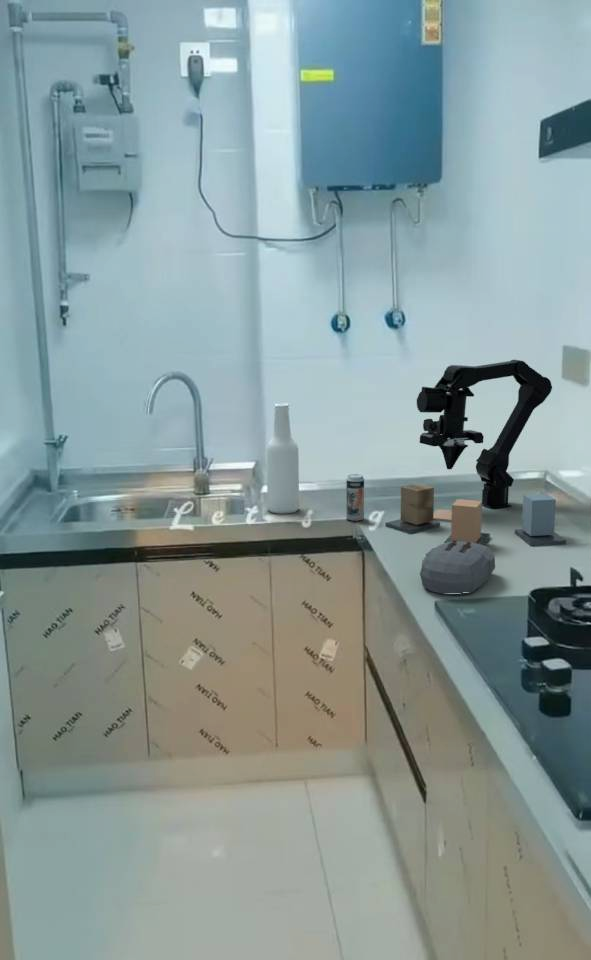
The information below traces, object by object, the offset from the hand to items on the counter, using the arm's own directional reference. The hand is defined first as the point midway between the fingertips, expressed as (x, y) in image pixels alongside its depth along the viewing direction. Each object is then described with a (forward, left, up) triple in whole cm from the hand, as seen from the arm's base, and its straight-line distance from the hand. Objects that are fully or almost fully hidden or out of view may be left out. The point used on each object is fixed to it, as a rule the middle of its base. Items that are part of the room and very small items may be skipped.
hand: (449, 469), depth 257 cm
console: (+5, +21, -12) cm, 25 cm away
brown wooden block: (+15, +9, -11) cm, 20 cm away
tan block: (+12, +28, -11) cm, 32 cm away
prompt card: (+3, +6, -12) cm, 14 cm away
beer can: (+27, -3, -12) cm, 30 cm away
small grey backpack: (+29, +51, -12) cm, 60 cm away
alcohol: (+41, -20, -12) cm, 47 cm away
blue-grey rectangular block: (-7, +31, -11) cm, 33 cm away
